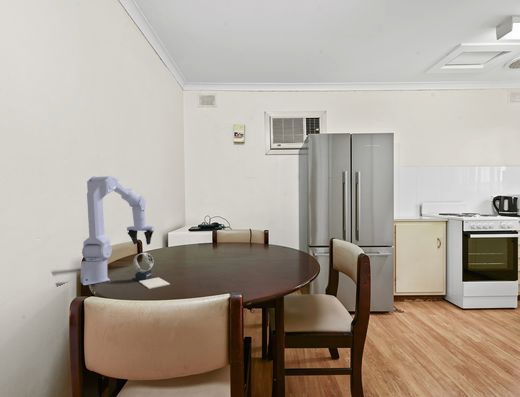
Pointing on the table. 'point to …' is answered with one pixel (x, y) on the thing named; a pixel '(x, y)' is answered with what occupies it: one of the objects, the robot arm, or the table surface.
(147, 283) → the mat
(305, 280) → the table surface
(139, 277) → the watch
